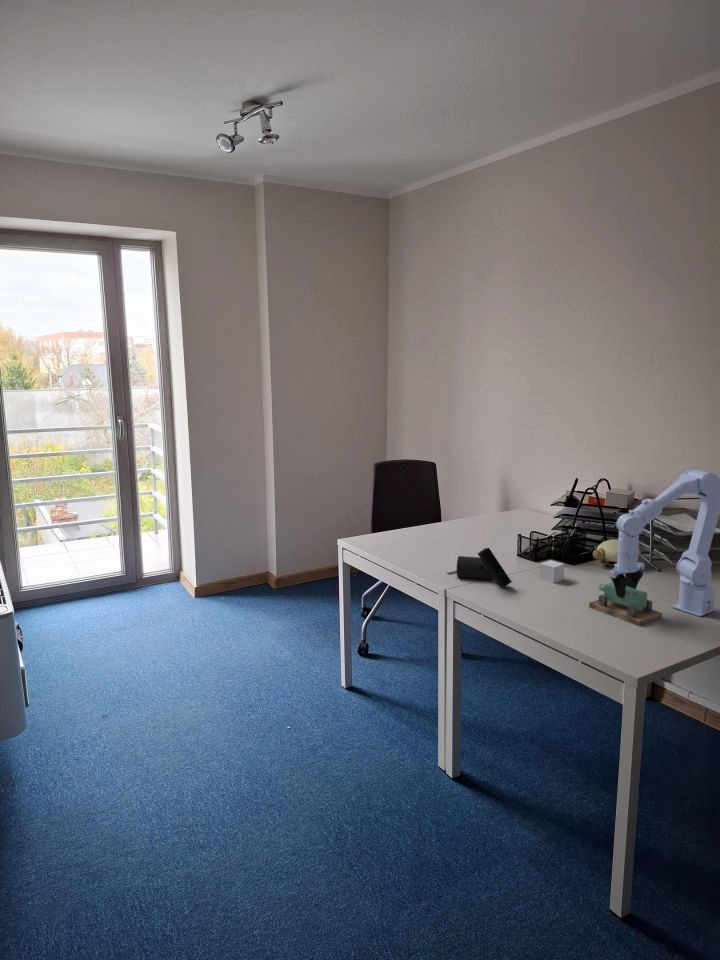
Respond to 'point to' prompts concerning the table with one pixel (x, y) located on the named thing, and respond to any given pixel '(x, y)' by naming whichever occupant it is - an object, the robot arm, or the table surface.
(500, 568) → the track light
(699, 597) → the robot arm
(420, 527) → the table surface
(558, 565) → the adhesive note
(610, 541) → the cream rounded piece
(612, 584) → the green bottle
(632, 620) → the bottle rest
